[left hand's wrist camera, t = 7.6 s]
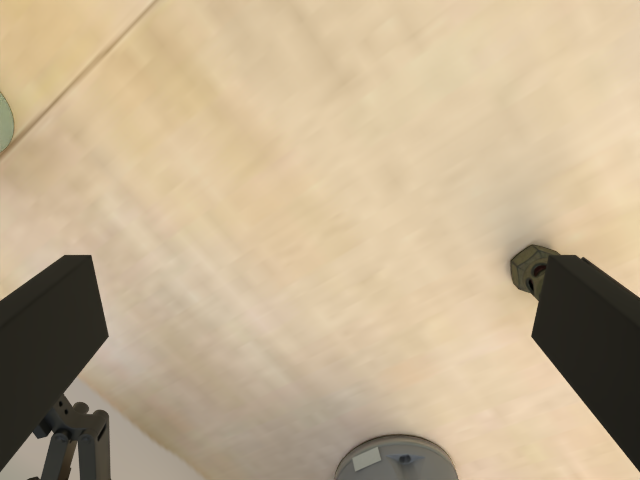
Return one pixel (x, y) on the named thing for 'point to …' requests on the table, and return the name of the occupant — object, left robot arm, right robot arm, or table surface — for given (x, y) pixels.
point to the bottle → (5, 123)
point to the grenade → (540, 270)
